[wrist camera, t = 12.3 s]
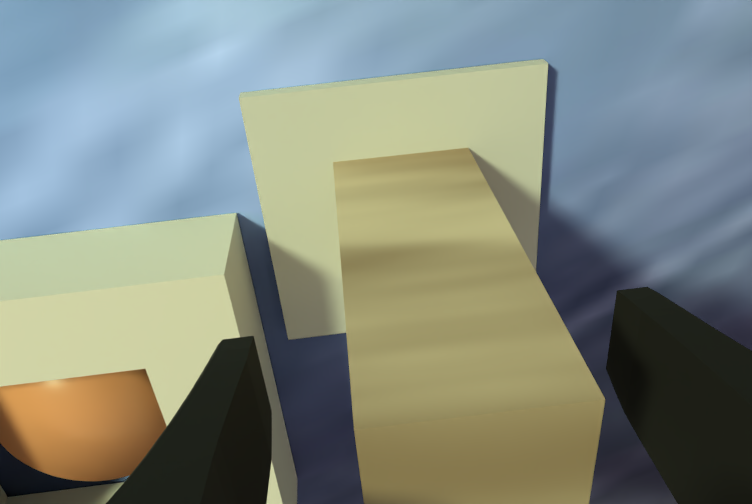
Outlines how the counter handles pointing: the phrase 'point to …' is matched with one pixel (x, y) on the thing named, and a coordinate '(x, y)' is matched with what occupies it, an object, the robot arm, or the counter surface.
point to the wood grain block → (455, 344)
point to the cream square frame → (133, 319)
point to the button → (82, 424)
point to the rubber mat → (380, 139)
